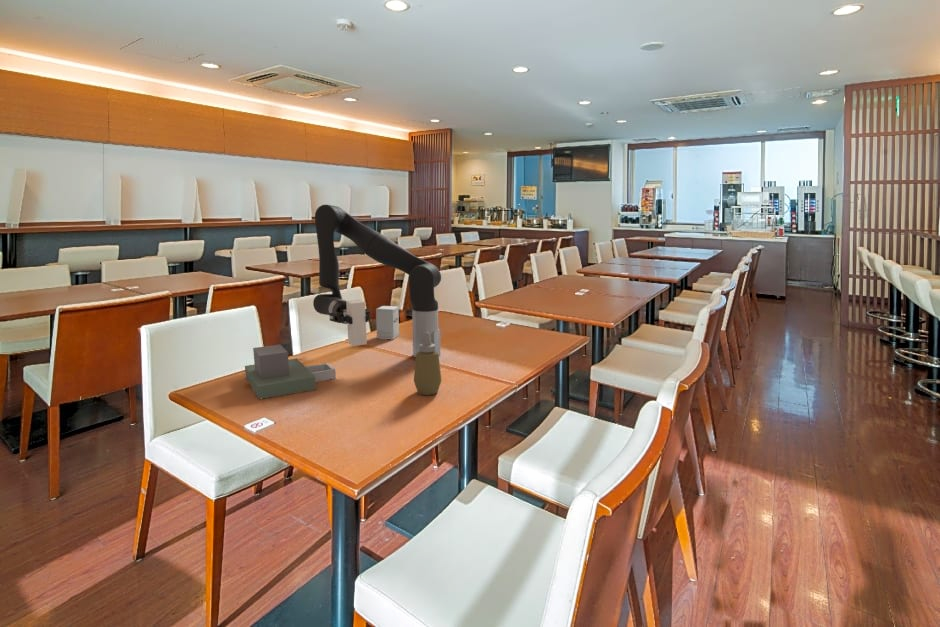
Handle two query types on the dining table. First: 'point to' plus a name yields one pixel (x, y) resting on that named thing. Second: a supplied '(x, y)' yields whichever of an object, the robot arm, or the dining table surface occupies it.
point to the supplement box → (387, 322)
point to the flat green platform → (283, 373)
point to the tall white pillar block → (356, 322)
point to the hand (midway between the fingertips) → (359, 319)
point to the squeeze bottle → (427, 368)
